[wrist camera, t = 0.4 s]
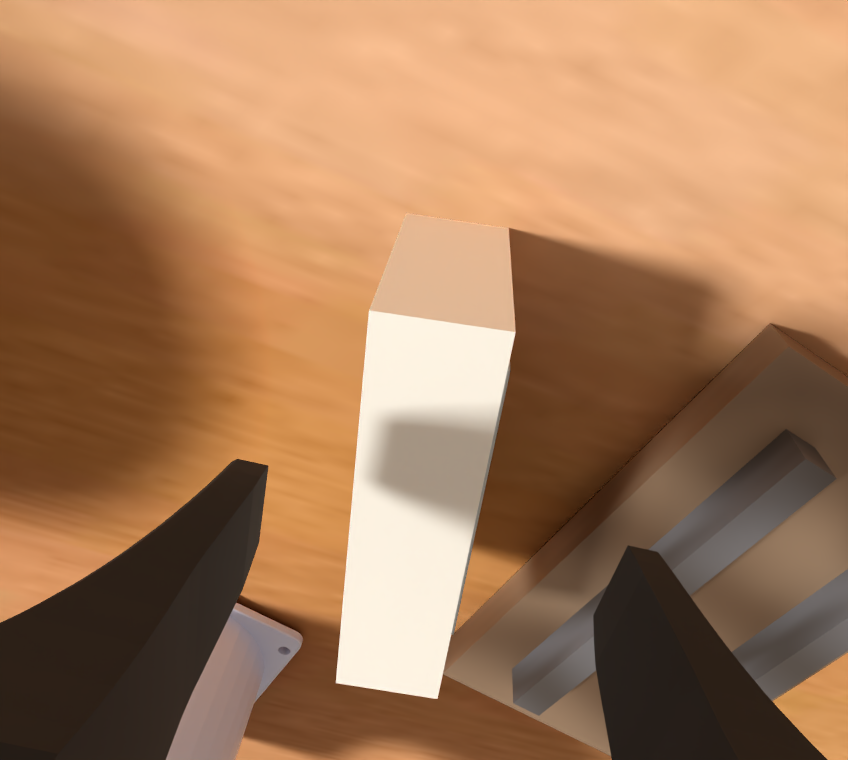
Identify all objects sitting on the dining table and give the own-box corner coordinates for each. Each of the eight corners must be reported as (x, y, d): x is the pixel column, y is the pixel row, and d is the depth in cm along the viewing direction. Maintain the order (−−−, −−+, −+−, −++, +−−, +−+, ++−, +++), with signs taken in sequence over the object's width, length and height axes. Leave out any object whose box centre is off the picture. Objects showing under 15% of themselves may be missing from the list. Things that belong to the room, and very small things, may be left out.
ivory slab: (455, 533, 26) (444, 700, 20) (372, 520, 26) (335, 683, 20) (515, 227, 20) (525, 334, 14) (406, 211, 20) (369, 309, 14)
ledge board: (647, 744, 31) (661, 813, 28) (444, 643, 29) (439, 708, 26) (1016, 493, 23) (1083, 558, 20) (769, 323, 21) (810, 372, 18)
